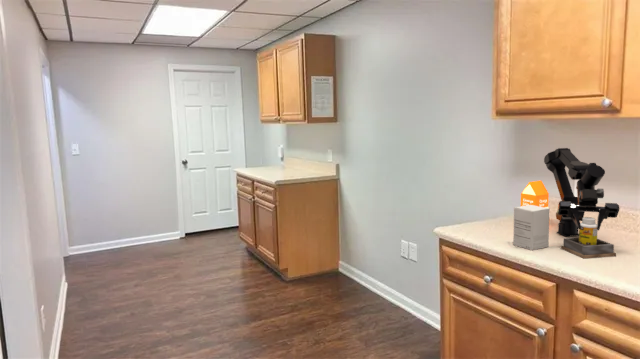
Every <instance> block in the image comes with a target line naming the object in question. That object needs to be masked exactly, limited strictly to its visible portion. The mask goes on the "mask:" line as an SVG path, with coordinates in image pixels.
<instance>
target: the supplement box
mask: <svg viewBox="0 0 640 359" xmlns="http://www.w3.org/2000/svg"><path fill="white" fill-rule="evenodd" d="M549 237H550V208H549V207H548V208H545V207H539V206H535V205H526V206H521V205H520V206H515V207H513V238H512V239H513V242H512V243H513V246H515V247H516V246H517V247H518V248H519V247H520V248H522V249H526V250H530V251H535V250H540V249H544V248H549V243H550V242H549V240H550V238H549Z"/></svg>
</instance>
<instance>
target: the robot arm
mask: <svg viewBox="0 0 640 359" xmlns="http://www.w3.org/2000/svg"><path fill="white" fill-rule="evenodd" d="M543 157H544V158H543V163H544V164H545V166H546V169H547V170H548V171H550V172H551V173H552V175H553V177H554V180H555V183H556V187H557V189H558V192H559V197H560V201H559V202H558V206H557V211H556V212H555V219H556V220H557V221H559V223H558V225H557V226H558V231H556V234H559V235H561V236H563V237H567V238H570V237H579V229H580V223H581V222H582V219H583V217H584V216H585V212H588V213H590V212H591V213H598V216H597V223H596V224H597V225H598V231H600V229H601V226H602V223H603V221H604V220H607V219H608V218H611V219H612V218H615V219H616V218H617V217H618V215H619V212H620V205H619V204H618V203H616V202H605V204H604V206H597V205H598V203H599V200H598V199H604V197H605V191H604V188H597V189H596V187H595V186H597V185H598V184H599V183H600V182H601V180H602V179H603V177H604V176H605V174H606V170H605V169H604V168H603V167H602V166H601V165H597V163H596V162H589V163H587V162H585V161H581V160H579V158H578V157H577V156H576V155H575V154H574V153H572V151H571V148H568V147H561V148H560V147H558V148H555V150H553V151H550V152H548V153H547V154H546V155H545V156H543ZM566 168H568V172H567V171H566ZM568 176H569V177H570V179H571V180H573V181H577V182H576V187H575V189H576V192H577V193H576V195H577V196H575V195H574V192H573V188H572V187H571V186H572V185H571V183H570V179H569V177H568Z"/></svg>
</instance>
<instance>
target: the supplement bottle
mask: <svg viewBox="0 0 640 359" xmlns="http://www.w3.org/2000/svg"><path fill="white" fill-rule="evenodd" d="M598 231H599V230H598V225H597V223H596V218H595V217H589V216H585V217H583V219H582V221H581V222H580V229H578V234H579V236H578V237H579V244H582V245H584V246H589V245H597V239H598Z"/></svg>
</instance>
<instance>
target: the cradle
mask: <svg viewBox="0 0 640 359" xmlns="http://www.w3.org/2000/svg"><path fill="white" fill-rule="evenodd" d="M562 241H563V243H562V245H561V246H560V249H561V250H563V251H565V252H568V253H571V254H573V255H574V256H576V257H579V258H582V260H583V259H597V258H608V257H609V258H610V257H617V253H616V252H615V251H614V248H615V245H614V244H613V243H611V242H608V241H605V240H602V239H599V238H597V245H589V246H584V245H582V244H579V236H577V237H567V238H565V237H563V240H562Z"/></svg>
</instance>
